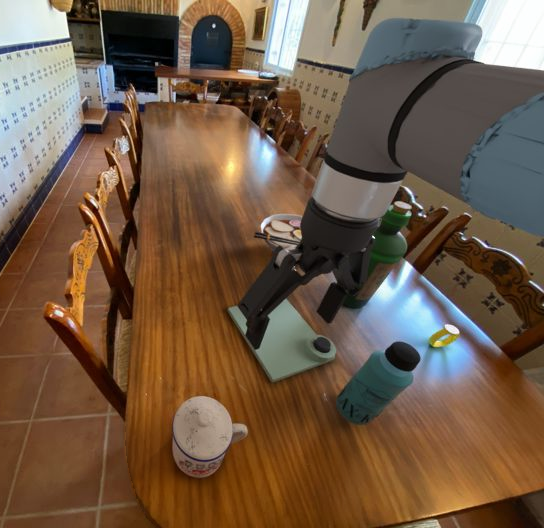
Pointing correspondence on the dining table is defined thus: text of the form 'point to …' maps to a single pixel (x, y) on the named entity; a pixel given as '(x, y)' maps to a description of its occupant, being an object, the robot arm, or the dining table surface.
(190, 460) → the teacup with lid
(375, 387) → the beverage bottle
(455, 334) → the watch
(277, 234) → the ramen bowl
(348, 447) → the dining table surface
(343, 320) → the dining table surface
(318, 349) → the button
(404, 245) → the bottle
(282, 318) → the scale
